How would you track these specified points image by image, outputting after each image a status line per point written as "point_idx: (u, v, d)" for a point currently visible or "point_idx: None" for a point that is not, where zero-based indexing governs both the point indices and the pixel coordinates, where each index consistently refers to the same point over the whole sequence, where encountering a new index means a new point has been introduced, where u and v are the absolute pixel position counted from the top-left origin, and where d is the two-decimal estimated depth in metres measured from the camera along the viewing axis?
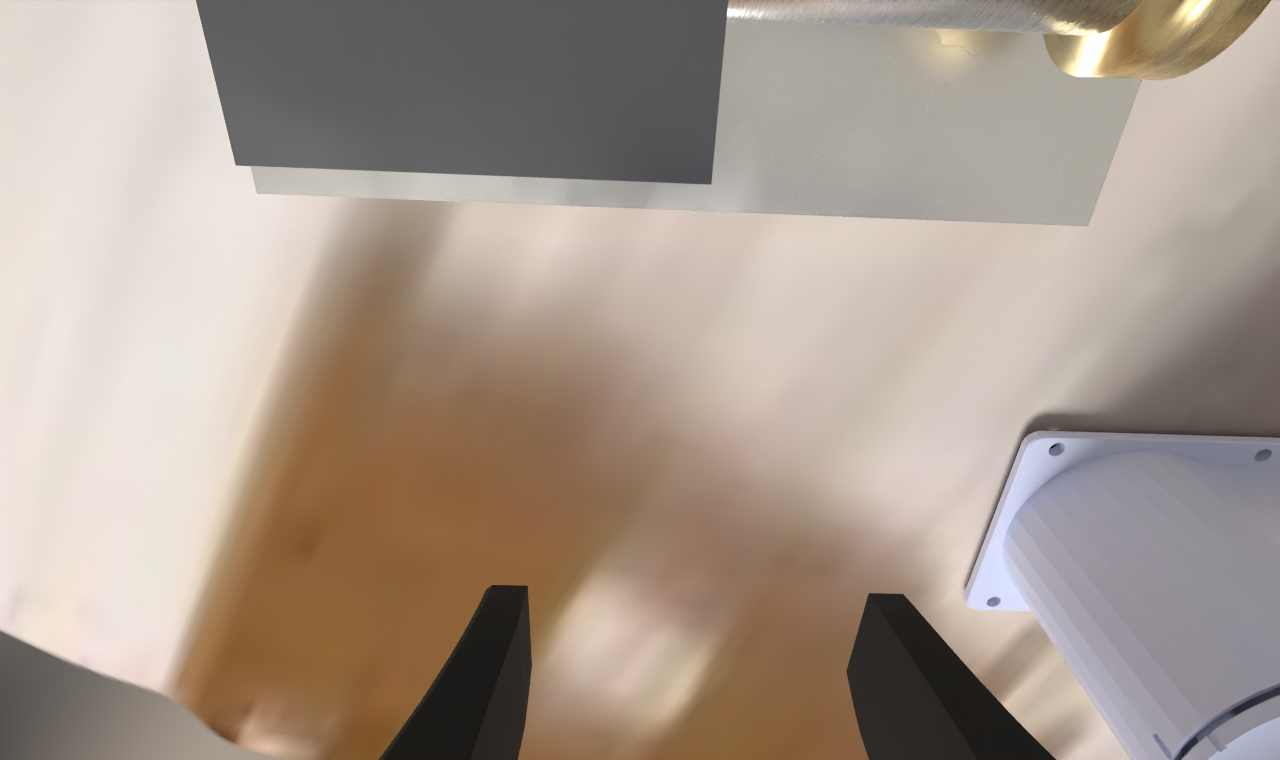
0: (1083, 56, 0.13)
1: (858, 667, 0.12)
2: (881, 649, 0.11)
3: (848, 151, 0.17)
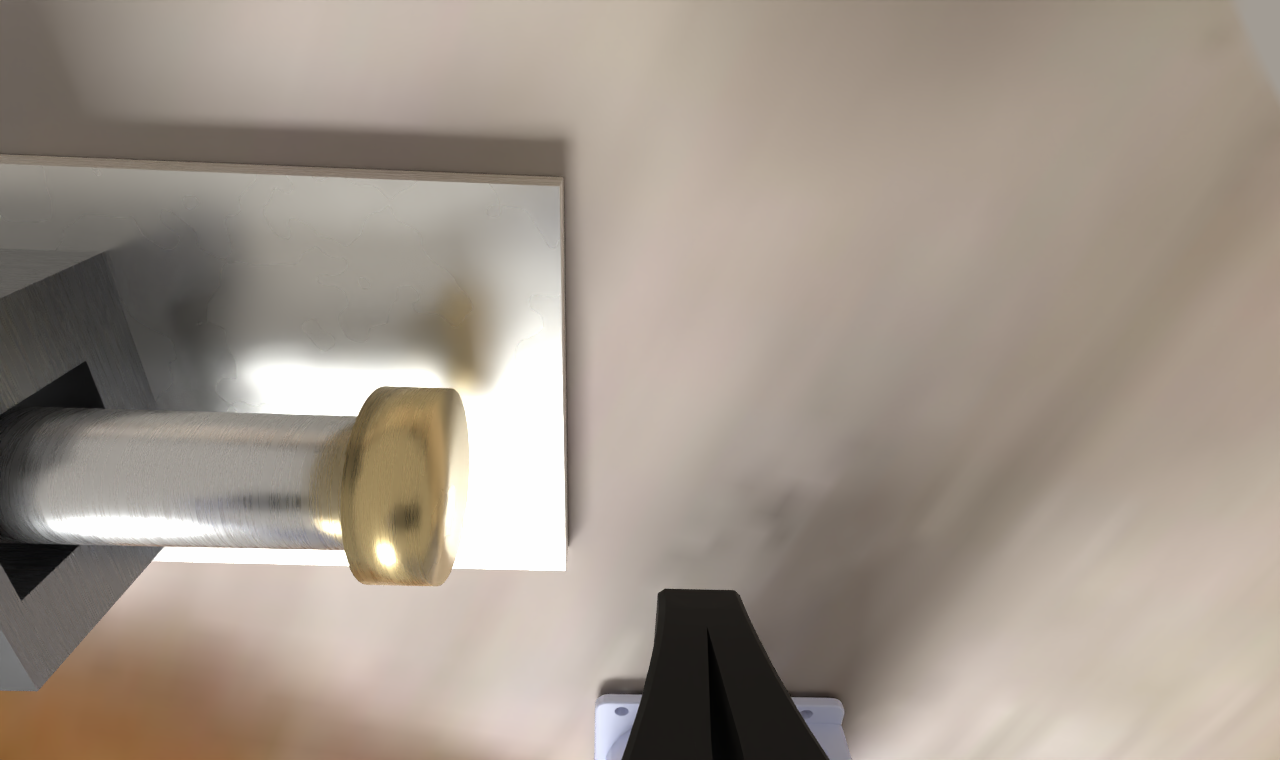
0: None
1: None
2: None
3: None
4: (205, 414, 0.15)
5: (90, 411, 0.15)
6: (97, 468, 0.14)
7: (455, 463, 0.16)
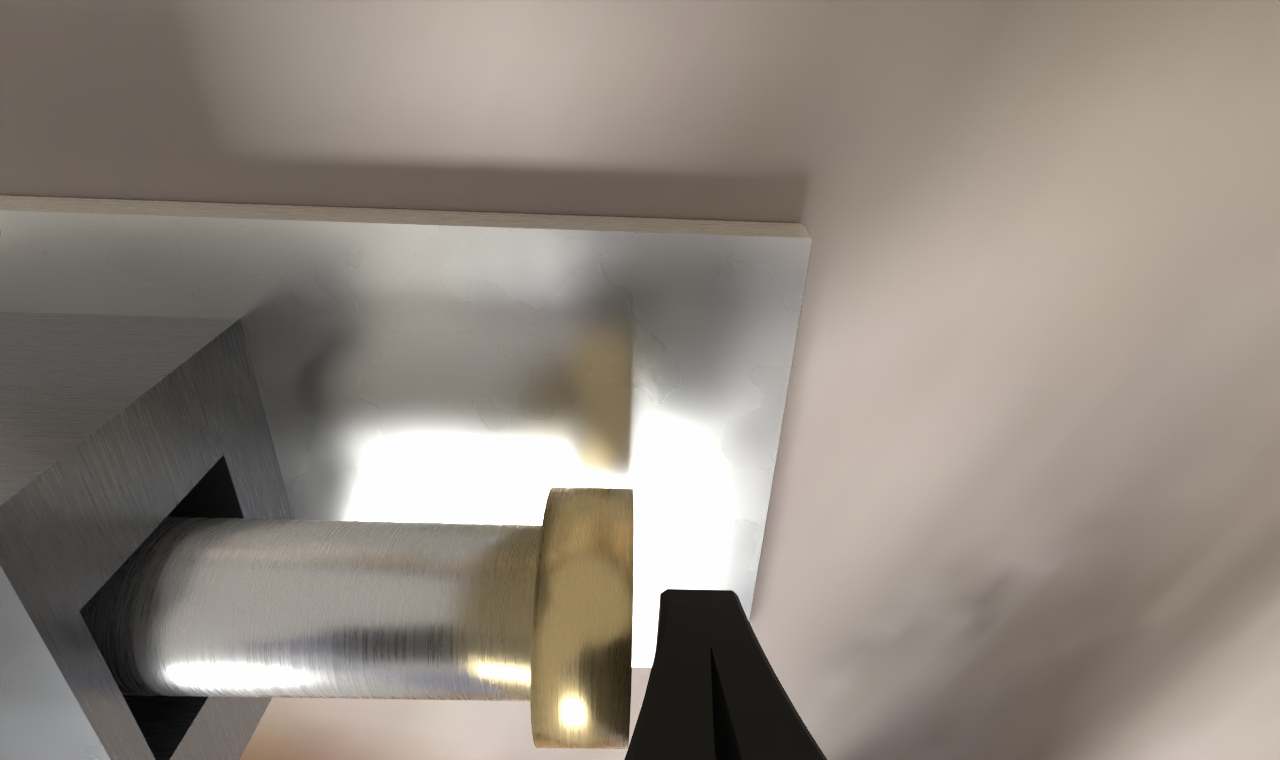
0: None
1: None
2: None
3: None
4: (332, 528, 0.12)
5: (188, 526, 0.12)
6: (207, 610, 0.11)
7: None
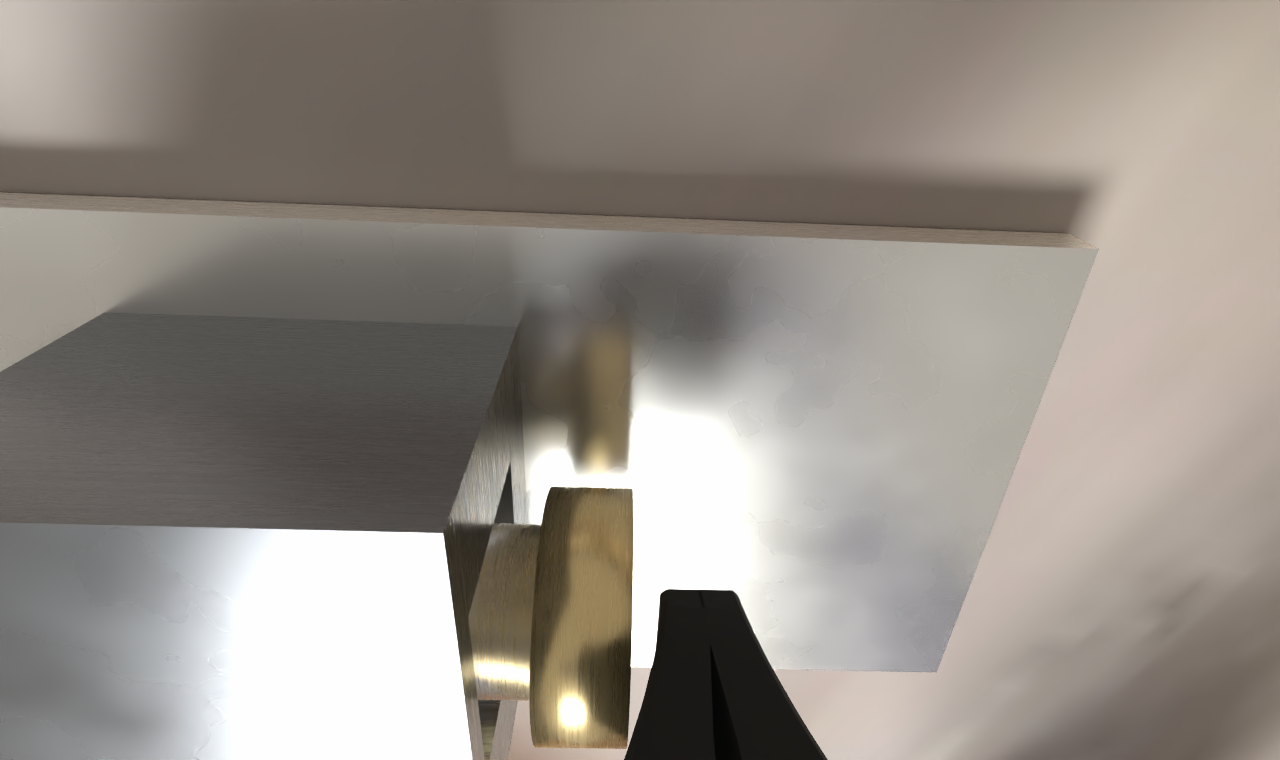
0: None
1: None
2: None
3: None
4: None
5: None
6: None
7: None
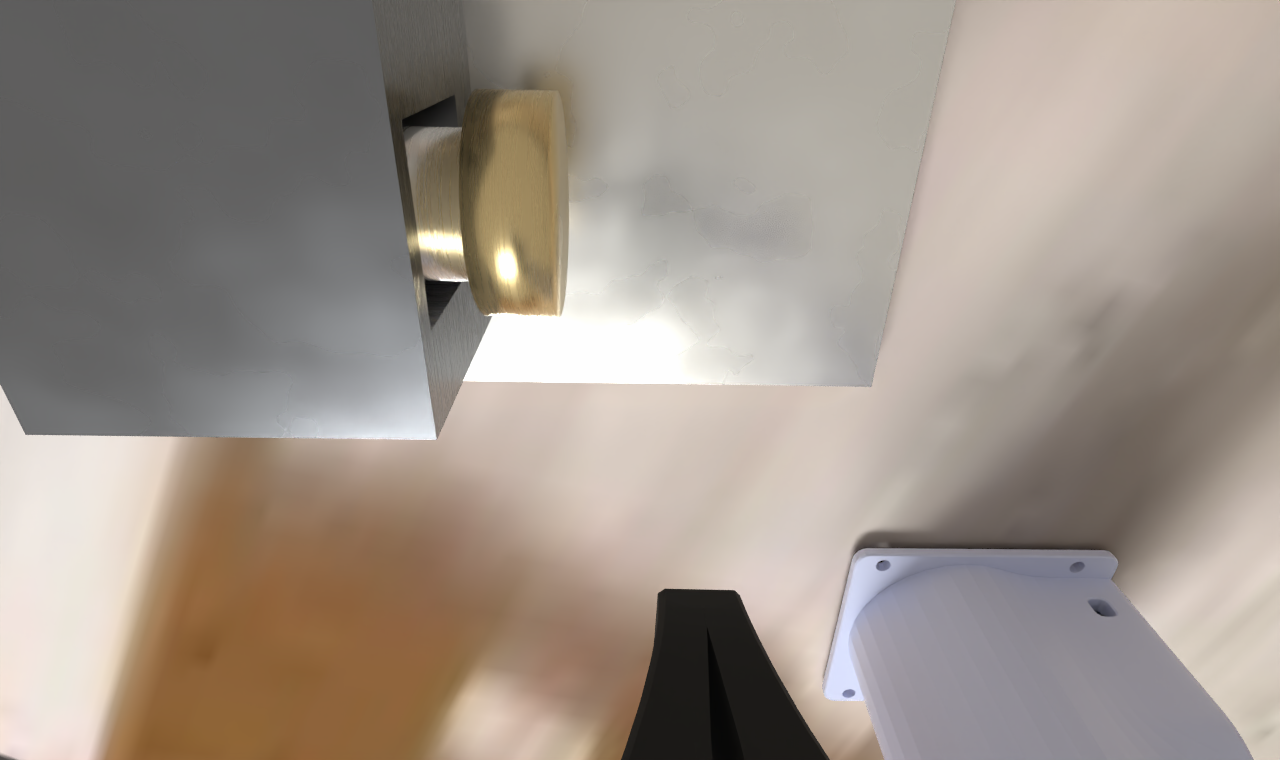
0: None
1: None
2: None
3: (641, 331, 0.19)
4: None
5: None
6: None
7: (562, 197, 0.14)
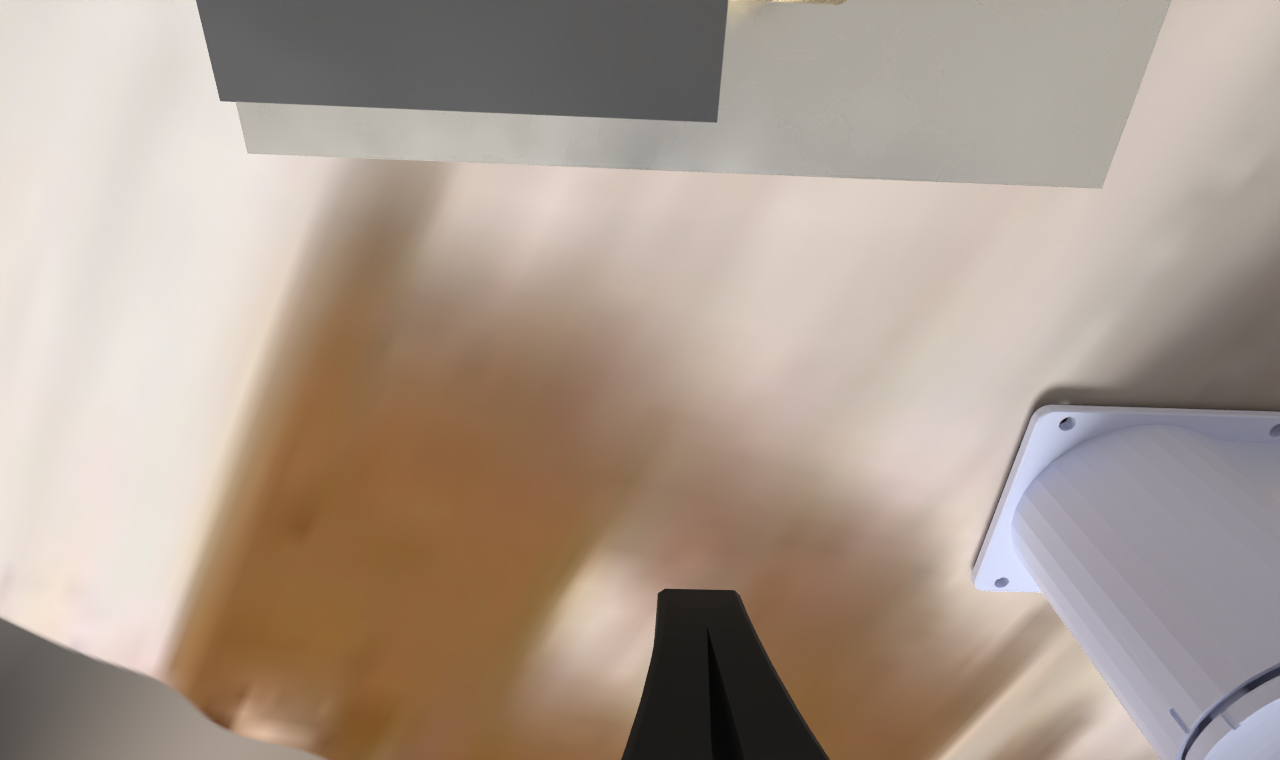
0: None
1: None
2: None
3: (856, 109, 0.17)
4: None
5: None
6: None
7: None
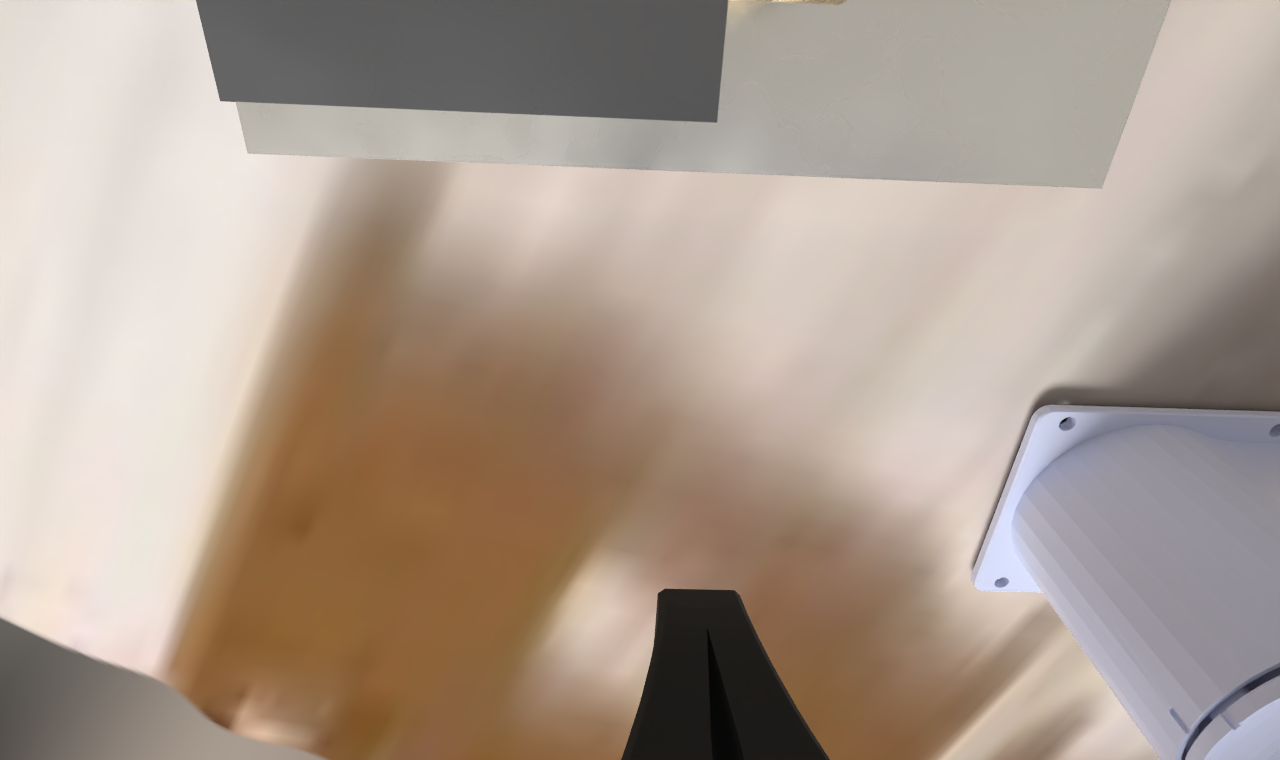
0: None
1: None
2: None
3: (856, 109, 0.17)
4: None
5: None
6: None
7: None
